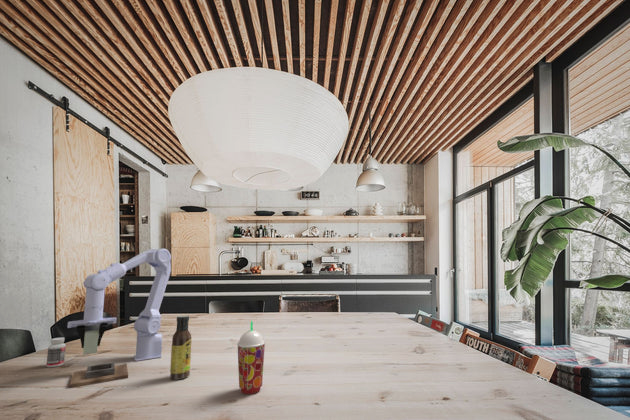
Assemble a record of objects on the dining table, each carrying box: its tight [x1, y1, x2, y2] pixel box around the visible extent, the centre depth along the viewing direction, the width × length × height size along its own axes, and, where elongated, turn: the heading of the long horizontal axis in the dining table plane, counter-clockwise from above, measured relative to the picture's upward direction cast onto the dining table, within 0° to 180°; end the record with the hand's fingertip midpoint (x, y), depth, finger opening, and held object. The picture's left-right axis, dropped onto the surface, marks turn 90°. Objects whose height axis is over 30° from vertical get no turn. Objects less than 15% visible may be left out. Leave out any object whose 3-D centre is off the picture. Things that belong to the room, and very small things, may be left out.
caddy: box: [68, 361, 129, 389], centre depth 112 cm, size 16×14×3 cm
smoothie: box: [236, 320, 266, 395], centre depth 100 cm, size 8×8×20 cm
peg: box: [82, 329, 99, 355], centre depth 117 cm, size 4×4×7 cm
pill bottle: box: [46, 337, 67, 368], centre depth 125 cm, size 5×5×10 cm
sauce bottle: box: [169, 314, 192, 380], centre depth 112 cm, size 6×6×20 cm
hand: (90, 346), depth 117 cm, fingers closed on peg, 4 cm apart
